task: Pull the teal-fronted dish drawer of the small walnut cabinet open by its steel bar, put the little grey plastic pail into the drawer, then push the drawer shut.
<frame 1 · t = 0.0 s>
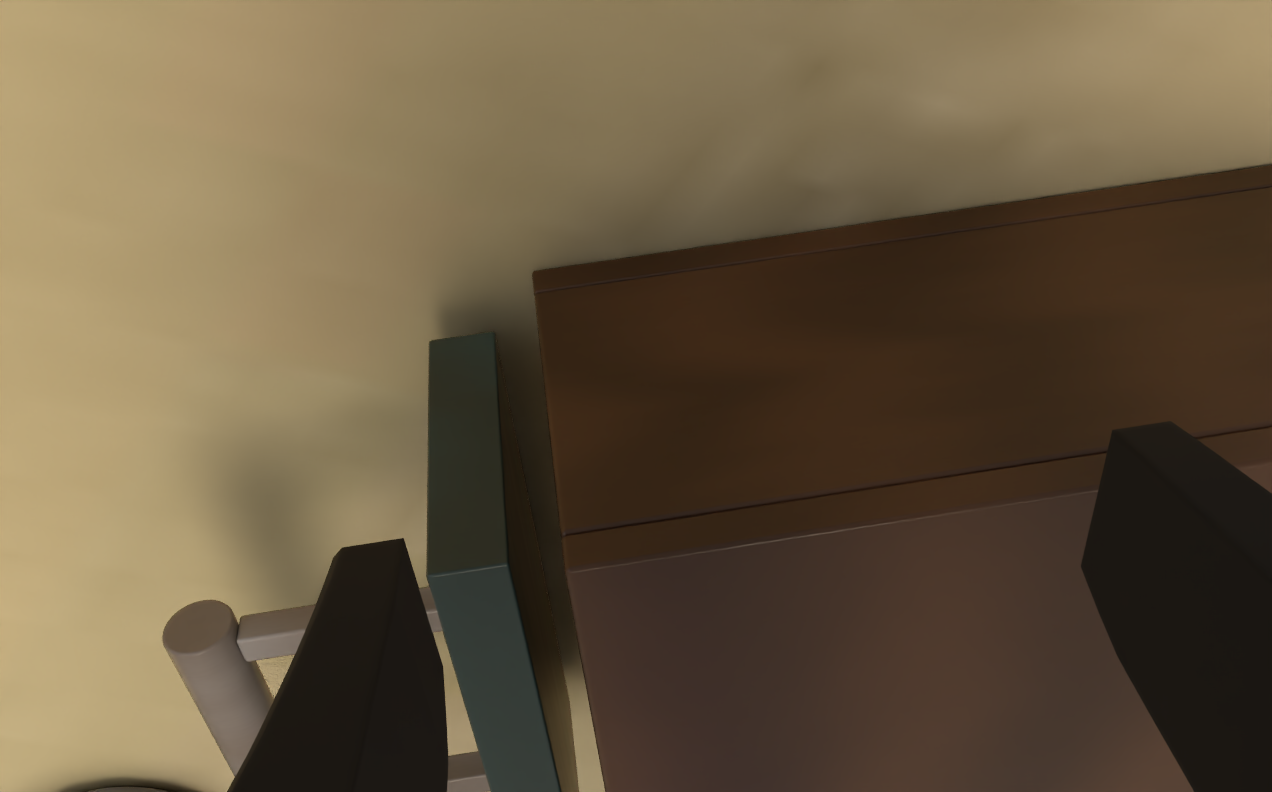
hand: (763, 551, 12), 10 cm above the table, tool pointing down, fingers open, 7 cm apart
cabinet: (897, 458, 26), on the table
drawer: (701, 626, 23), point 4 cm above the table, slide at 0.8 cm
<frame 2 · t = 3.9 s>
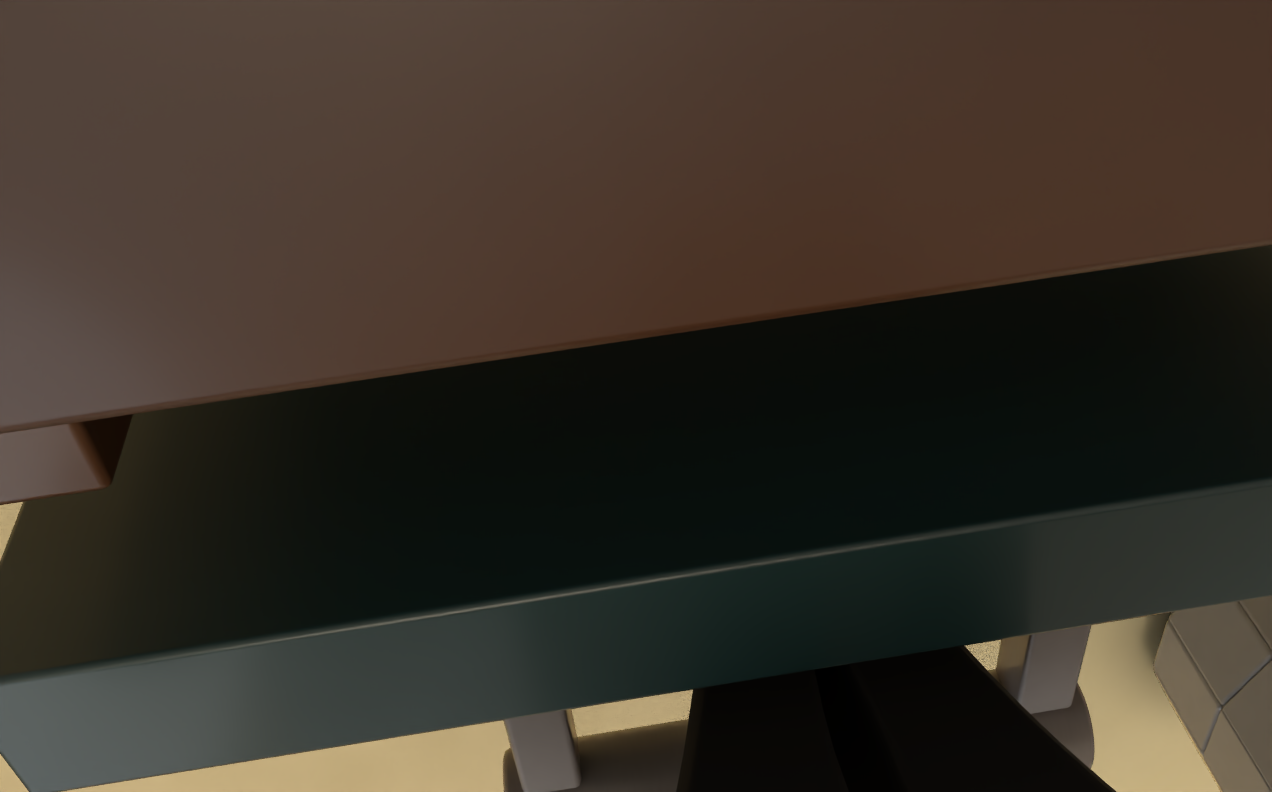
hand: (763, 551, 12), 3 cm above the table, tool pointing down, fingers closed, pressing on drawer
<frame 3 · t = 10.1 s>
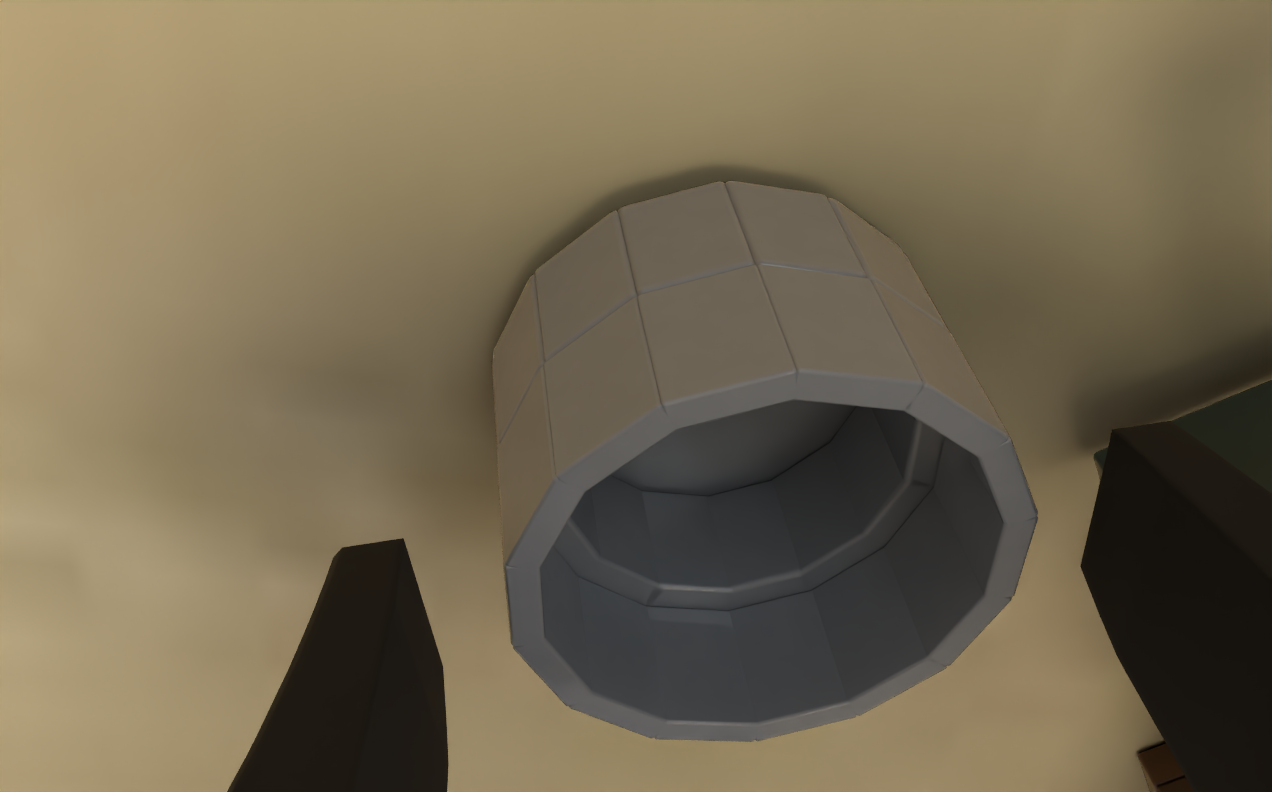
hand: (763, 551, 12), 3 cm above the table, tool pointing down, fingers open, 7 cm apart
grey plastic pail: (706, 355, 15), on the table
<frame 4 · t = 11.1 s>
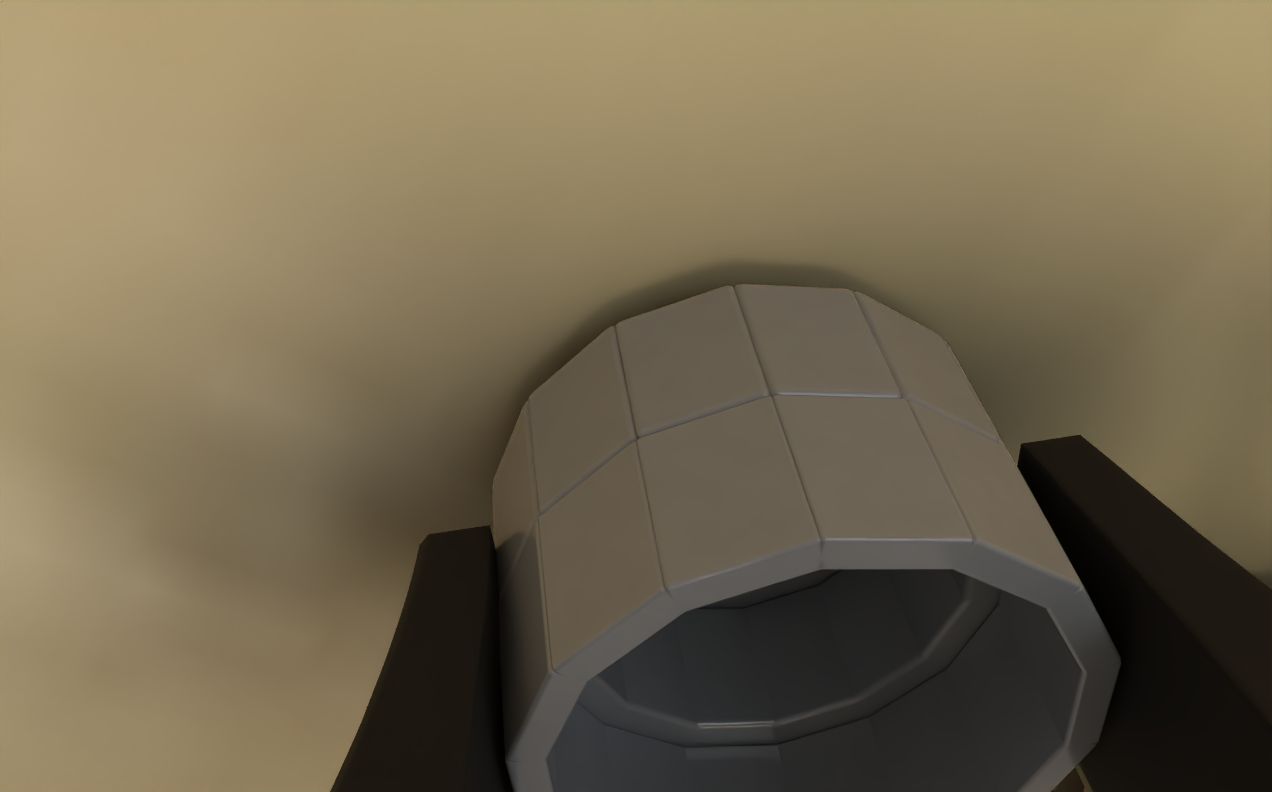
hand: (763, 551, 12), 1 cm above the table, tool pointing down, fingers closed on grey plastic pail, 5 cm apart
grey plastic pail: (733, 460, 13), on the table, touching gripper
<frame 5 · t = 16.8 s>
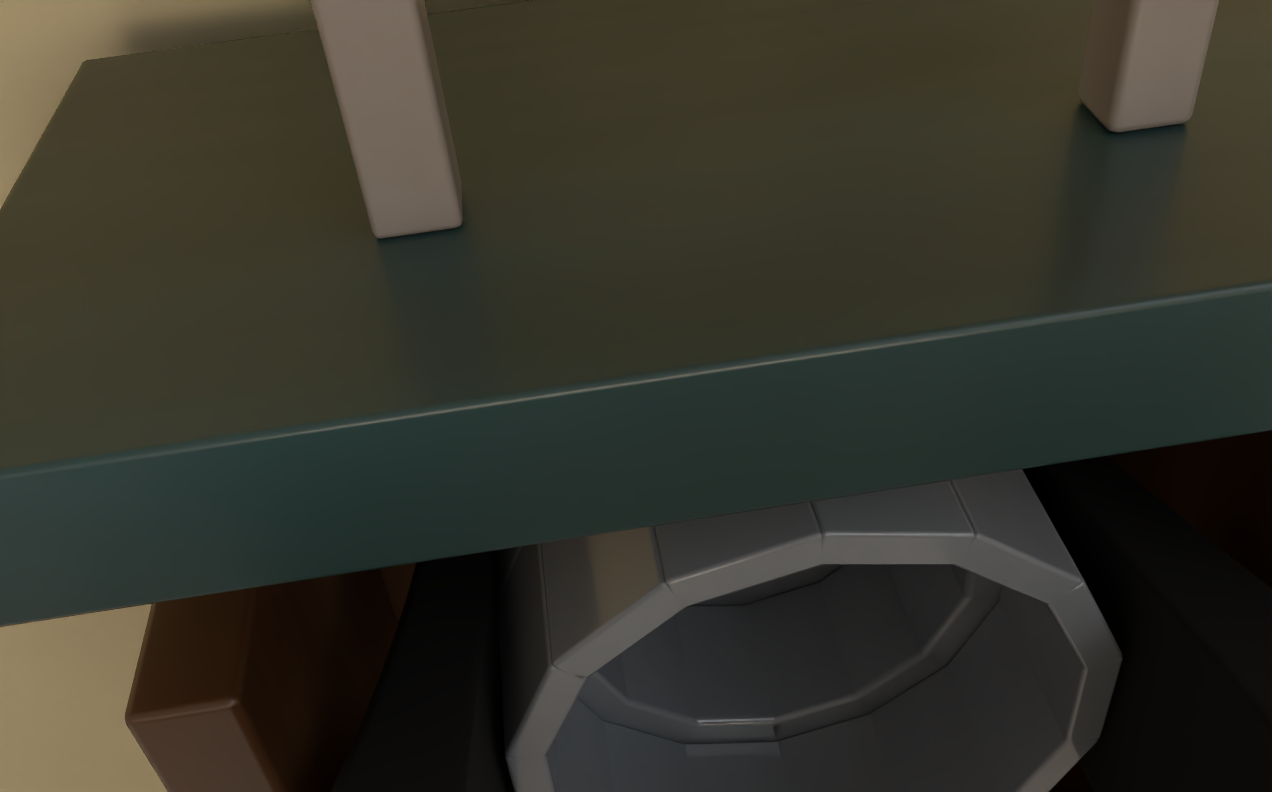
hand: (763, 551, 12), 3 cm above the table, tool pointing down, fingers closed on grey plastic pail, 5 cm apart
grey plastic pail: (733, 457, 13), point 2 cm above the table, touching gripper
drawer: (766, 513, 11), point 4 cm above the table, slide at 8.1 cm, touching gripper
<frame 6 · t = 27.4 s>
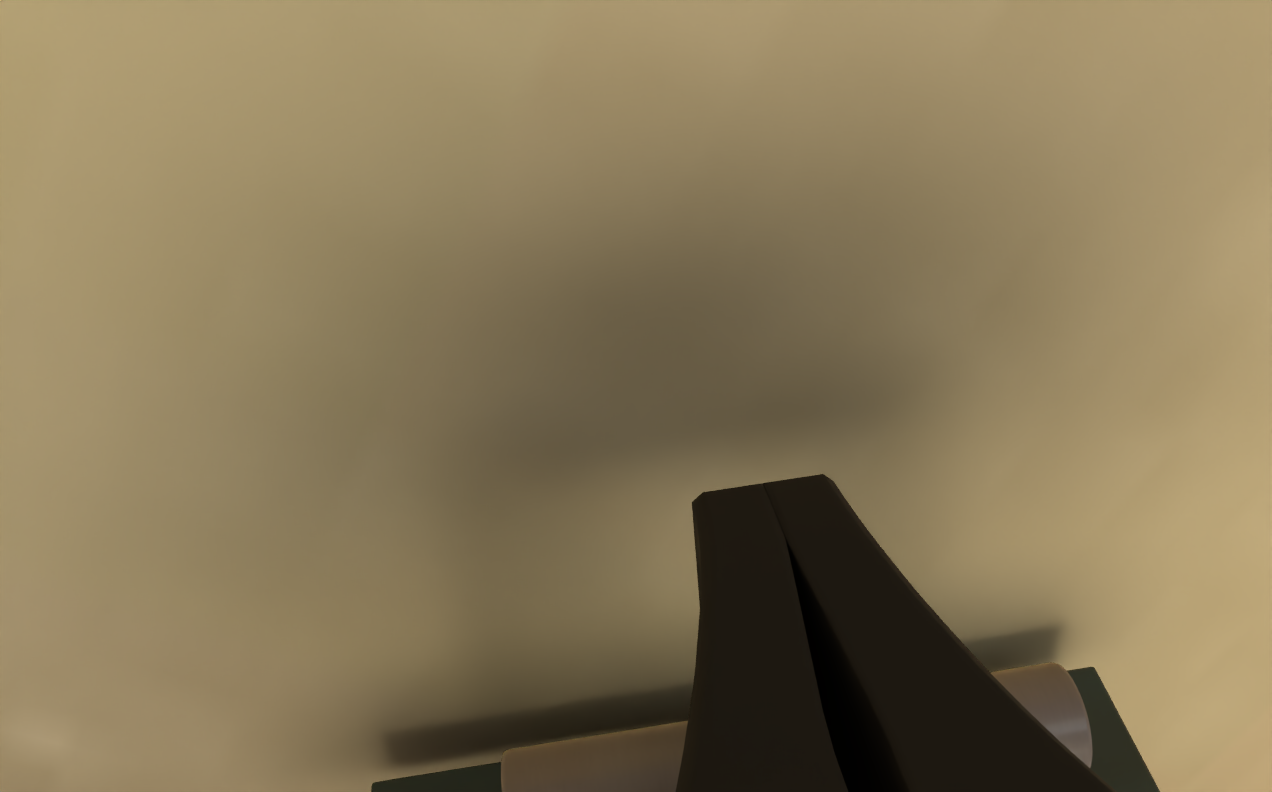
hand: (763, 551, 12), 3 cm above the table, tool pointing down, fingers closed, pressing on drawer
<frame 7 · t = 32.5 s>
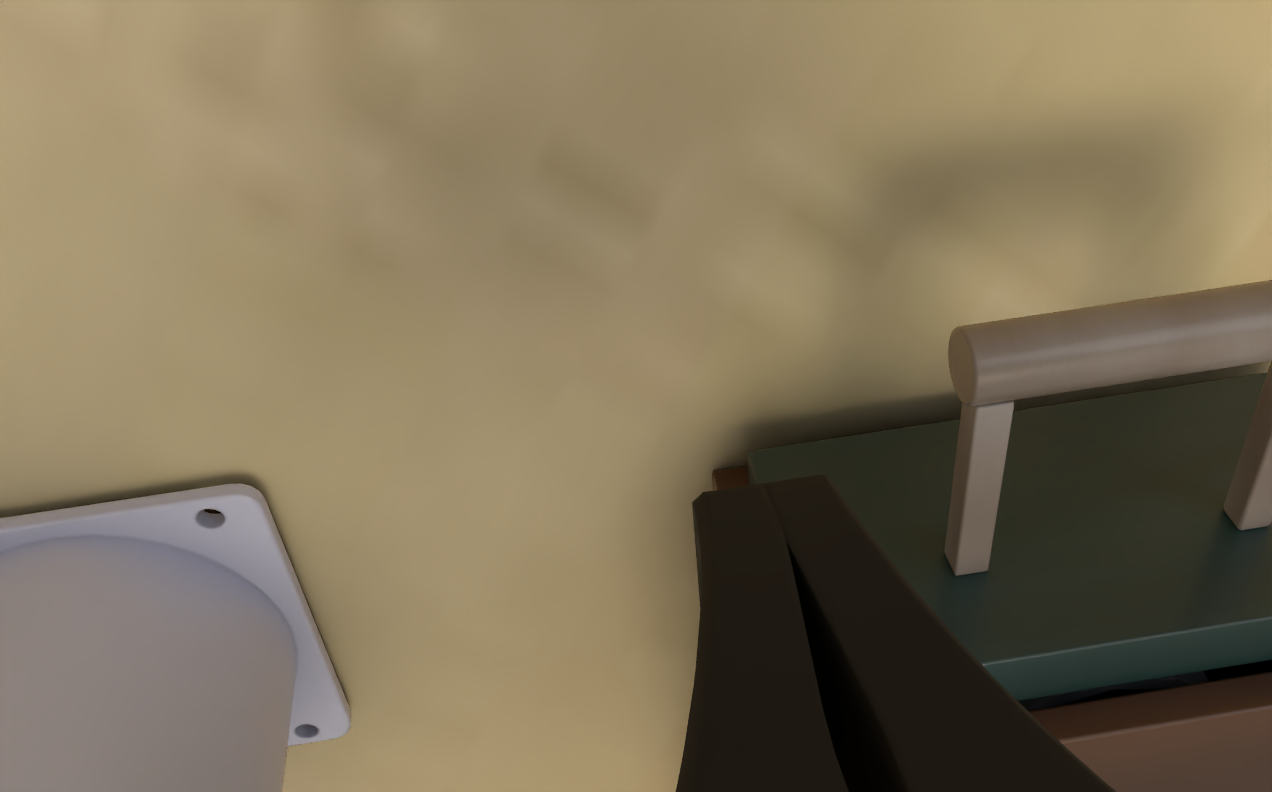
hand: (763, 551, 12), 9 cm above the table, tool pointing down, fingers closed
grey plastic pail: (1016, 612, 26), point 2 cm above the table, touching drawer
cabinet: (971, 642, 29), on the table
drawer: (1055, 656, 24), point 4 cm above the table, slide at 0.0 cm, touching grey plastic pail
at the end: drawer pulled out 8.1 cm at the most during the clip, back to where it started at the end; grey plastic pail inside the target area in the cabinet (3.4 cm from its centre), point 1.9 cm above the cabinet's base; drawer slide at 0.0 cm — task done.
